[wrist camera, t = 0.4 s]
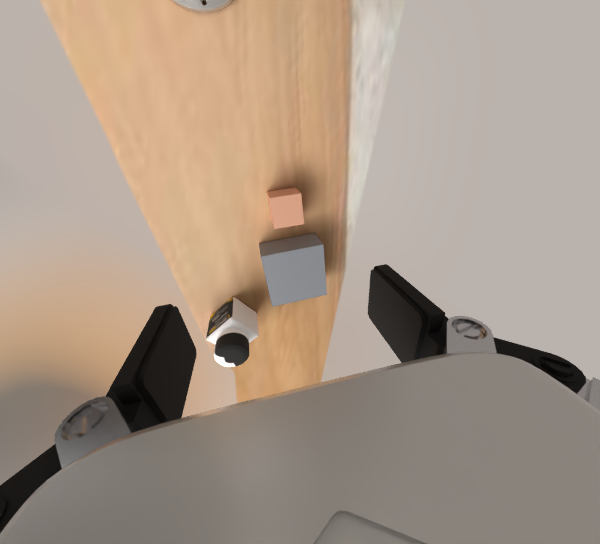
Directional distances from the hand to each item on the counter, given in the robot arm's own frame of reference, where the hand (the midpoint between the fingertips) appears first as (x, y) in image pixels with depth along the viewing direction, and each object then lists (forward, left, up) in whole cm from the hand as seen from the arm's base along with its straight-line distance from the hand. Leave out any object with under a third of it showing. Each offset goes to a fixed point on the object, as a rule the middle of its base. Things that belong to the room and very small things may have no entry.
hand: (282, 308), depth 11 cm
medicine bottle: (+26, -10, -33) cm, 42 cm away
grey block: (+16, +4, -33) cm, 36 cm away
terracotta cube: (+4, +4, -32) cm, 33 cm away
